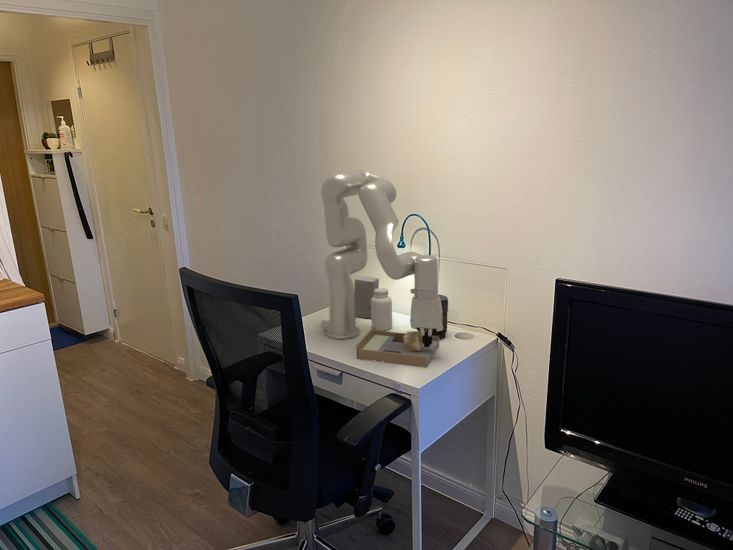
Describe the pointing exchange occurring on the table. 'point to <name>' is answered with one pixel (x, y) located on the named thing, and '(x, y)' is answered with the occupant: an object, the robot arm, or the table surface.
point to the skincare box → (364, 295)
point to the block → (413, 341)
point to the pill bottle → (381, 310)
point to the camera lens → (444, 310)
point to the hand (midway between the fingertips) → (427, 345)
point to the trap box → (393, 349)
